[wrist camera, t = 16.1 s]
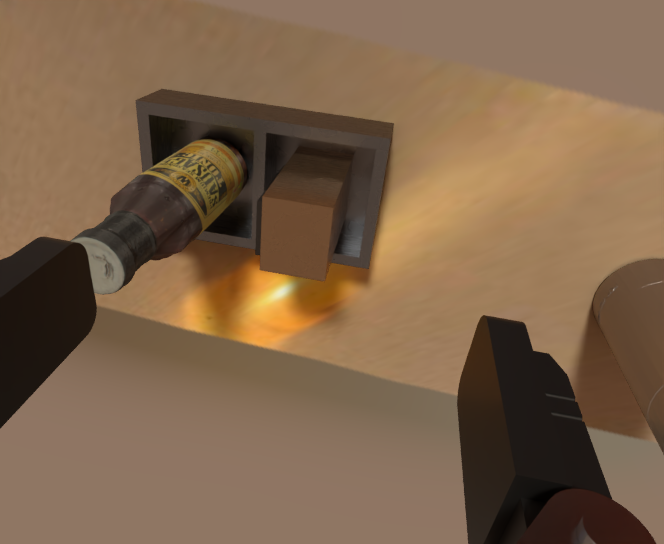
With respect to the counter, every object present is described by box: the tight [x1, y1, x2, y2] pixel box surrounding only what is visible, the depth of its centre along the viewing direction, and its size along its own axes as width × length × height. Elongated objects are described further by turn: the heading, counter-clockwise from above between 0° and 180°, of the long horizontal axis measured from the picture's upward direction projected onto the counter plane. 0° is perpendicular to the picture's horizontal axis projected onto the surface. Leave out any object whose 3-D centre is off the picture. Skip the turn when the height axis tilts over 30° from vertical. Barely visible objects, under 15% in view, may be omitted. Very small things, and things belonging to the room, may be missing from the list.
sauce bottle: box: [71, 137, 247, 294], centre depth 39 cm, size 7×6×20 cm
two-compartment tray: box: [136, 89, 394, 281], centre depth 42 cm, size 21×12×13 cm, turn 84°
